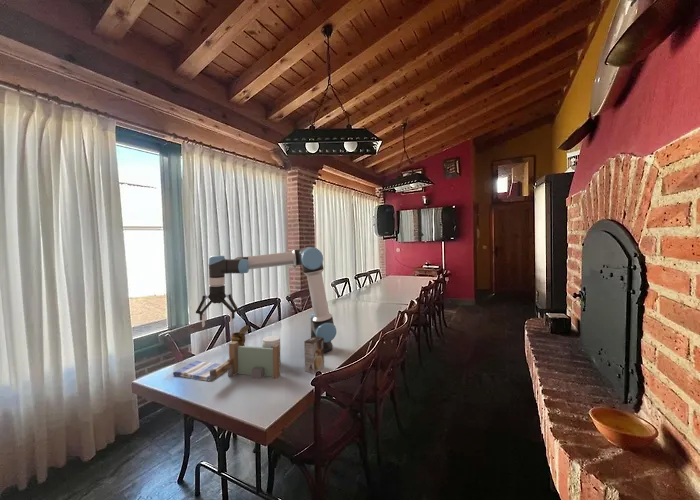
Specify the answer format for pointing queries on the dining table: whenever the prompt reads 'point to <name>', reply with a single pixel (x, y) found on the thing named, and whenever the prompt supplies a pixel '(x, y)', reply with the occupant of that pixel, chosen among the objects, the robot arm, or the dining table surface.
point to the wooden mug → (240, 336)
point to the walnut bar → (221, 369)
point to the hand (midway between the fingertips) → (217, 325)
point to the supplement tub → (270, 341)
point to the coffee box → (314, 354)
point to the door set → (254, 361)
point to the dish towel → (197, 370)
